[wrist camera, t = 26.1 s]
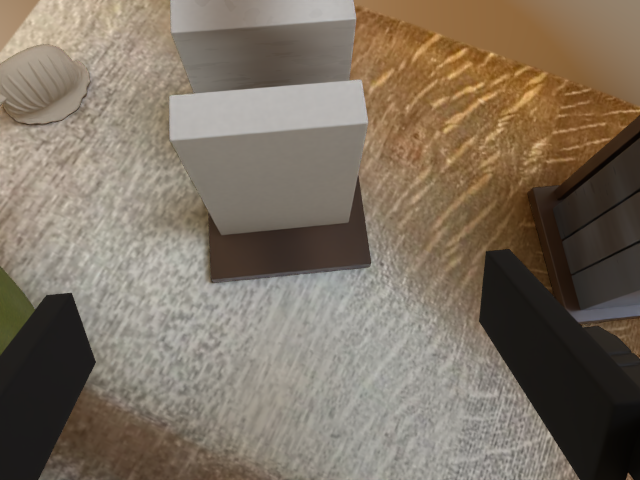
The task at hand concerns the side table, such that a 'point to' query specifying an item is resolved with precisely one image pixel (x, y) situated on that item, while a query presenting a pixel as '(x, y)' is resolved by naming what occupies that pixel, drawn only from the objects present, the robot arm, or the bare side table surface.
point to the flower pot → (11, 309)
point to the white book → (272, 153)
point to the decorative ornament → (42, 84)
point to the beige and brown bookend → (271, 71)
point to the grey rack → (595, 232)
